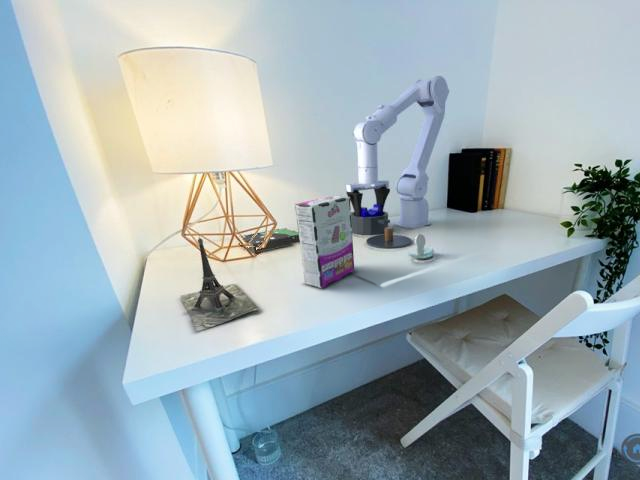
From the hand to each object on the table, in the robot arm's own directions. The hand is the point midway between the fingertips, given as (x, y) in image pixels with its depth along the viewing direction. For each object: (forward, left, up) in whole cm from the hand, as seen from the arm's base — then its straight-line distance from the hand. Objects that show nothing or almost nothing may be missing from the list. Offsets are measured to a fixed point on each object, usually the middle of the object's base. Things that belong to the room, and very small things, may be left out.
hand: (369, 213), depth 105 cm
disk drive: (+29, -8, -6) cm, 31 cm away
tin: (0, 0, -6) cm, 6 cm away
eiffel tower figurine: (+52, +23, -6) cm, 57 cm away
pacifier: (+7, +30, -6) cm, 31 cm away
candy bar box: (+30, +25, -6) cm, 40 cm away
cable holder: (0, 0, -2) cm, 2 cm away
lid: (+4, +14, -5) cm, 15 cm away
